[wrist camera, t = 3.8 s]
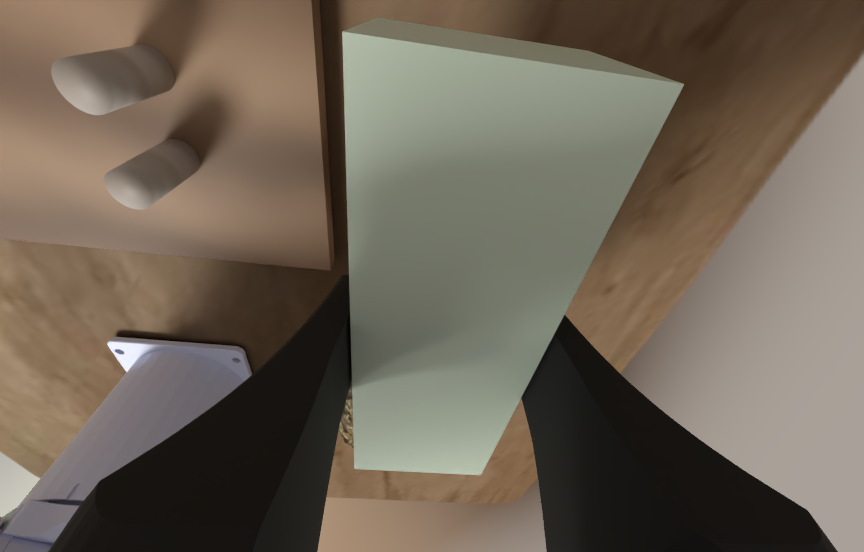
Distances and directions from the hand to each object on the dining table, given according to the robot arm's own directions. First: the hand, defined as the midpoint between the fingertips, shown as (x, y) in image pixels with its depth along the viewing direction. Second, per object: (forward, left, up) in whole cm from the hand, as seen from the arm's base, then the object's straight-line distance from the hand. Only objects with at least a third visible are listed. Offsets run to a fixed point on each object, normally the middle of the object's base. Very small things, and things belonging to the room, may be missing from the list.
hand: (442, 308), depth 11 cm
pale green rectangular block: (0, 0, -2) cm, 2 cm away
